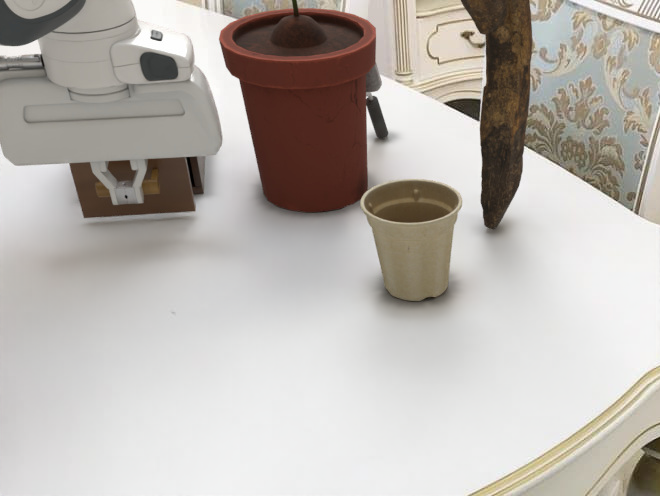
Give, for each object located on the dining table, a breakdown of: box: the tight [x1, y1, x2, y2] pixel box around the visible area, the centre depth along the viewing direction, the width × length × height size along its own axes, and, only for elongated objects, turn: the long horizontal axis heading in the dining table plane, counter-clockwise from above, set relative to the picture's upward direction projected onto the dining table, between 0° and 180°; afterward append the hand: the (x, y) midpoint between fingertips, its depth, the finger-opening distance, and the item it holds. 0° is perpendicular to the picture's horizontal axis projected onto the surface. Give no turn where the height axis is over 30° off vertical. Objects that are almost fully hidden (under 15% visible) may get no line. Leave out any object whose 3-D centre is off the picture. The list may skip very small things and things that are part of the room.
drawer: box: [68, 157, 197, 219], centre depth 116 cm, size 18×11×9 cm, turn 10°
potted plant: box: [218, 0, 389, 213], centre depth 116 cm, size 18×22×25 cm
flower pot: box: [359, 178, 463, 302], centre depth 105 cm, size 9×9×9 cm
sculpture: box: [460, 0, 533, 230], centre depth 106 cm, size 7×7×30 cm
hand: (128, 201), depth 110 cm, fingers closed
